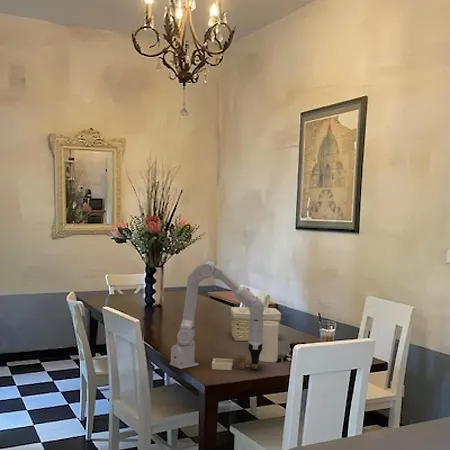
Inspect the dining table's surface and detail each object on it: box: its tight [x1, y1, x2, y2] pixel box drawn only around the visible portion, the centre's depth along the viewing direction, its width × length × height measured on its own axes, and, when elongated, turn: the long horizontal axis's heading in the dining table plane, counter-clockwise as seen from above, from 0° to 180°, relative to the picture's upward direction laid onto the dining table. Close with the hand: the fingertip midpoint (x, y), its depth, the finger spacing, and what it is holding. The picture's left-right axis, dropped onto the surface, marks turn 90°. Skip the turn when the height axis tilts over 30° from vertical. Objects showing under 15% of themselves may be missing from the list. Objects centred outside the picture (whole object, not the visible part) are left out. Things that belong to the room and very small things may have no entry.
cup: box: [259, 321, 280, 363], centre depth 231 cm, size 8×8×16 cm
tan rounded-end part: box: [233, 354, 259, 370], centre depth 217 cm, size 9×4×6 cm, turn 82°
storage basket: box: [230, 306, 282, 342], centre depth 270 cm, size 24×16×15 cm
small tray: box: [211, 357, 234, 371], centre depth 218 cm, size 8×7×2 cm
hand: (255, 362), depth 217 cm, fingers closed on tan rounded-end part, 3 cm apart
